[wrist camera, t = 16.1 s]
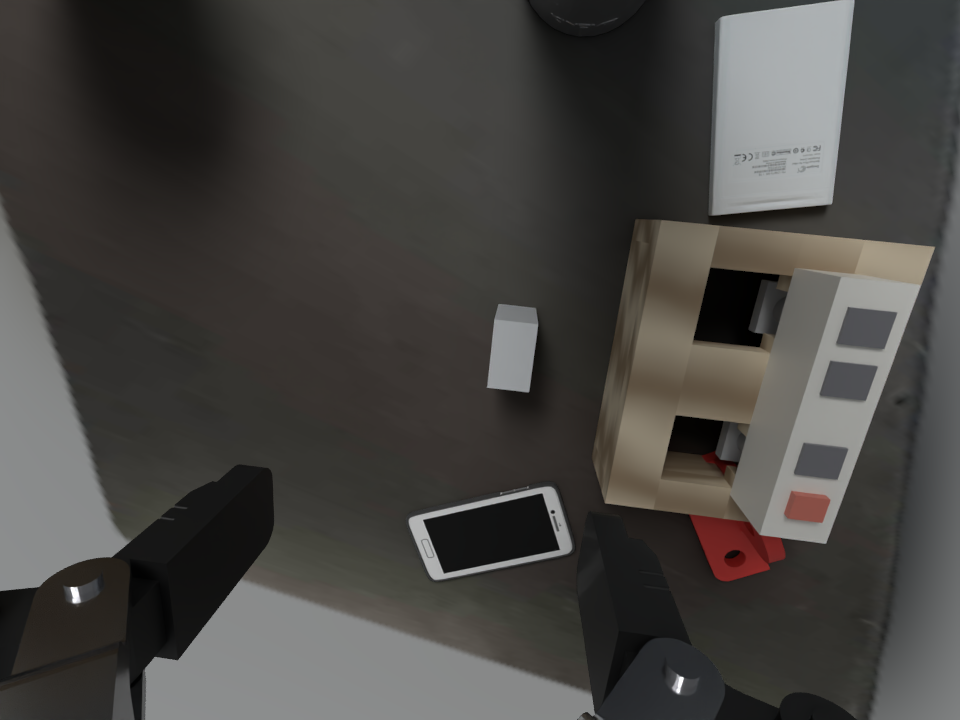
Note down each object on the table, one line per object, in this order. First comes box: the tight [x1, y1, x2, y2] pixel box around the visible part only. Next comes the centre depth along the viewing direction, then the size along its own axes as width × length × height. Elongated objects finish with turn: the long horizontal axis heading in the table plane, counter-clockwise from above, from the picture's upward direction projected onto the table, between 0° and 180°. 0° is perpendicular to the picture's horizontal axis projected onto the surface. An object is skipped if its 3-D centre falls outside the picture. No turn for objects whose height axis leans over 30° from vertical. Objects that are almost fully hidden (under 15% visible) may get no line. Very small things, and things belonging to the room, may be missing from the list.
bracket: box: [689, 451, 785, 581], centre depth 38 cm, size 12×4×8 cm, turn 25°
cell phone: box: [406, 481, 575, 582], centre depth 45 cm, size 8×15×1 cm, turn 107°
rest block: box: [487, 304, 538, 392], centre depth 36 cm, size 5×3×6 cm, turn 174°
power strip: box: [715, 268, 921, 544], centre depth 31 cm, size 16×4×9 cm, turn 175°
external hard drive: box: [708, 0, 854, 216], centre depth 33 cm, size 2×8×12 cm
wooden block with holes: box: [592, 219, 935, 532], centre depth 35 cm, size 20×16×7 cm
